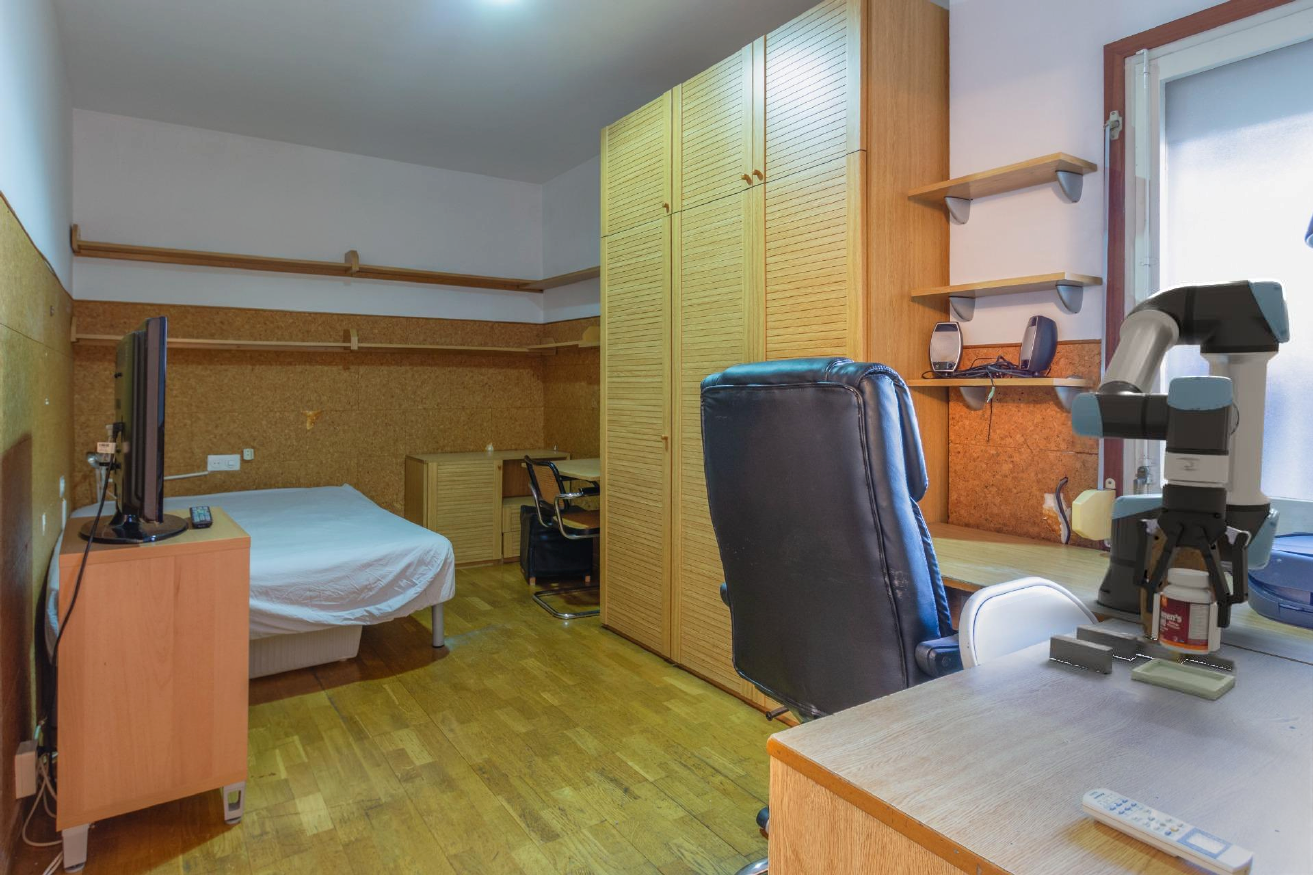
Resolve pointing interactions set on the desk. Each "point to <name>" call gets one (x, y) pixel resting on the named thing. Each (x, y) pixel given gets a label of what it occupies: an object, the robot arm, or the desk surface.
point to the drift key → (1157, 650)
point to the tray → (1184, 678)
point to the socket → (1093, 648)
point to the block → (1183, 559)
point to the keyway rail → (1212, 660)
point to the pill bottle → (1186, 611)
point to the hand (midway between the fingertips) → (1185, 642)
